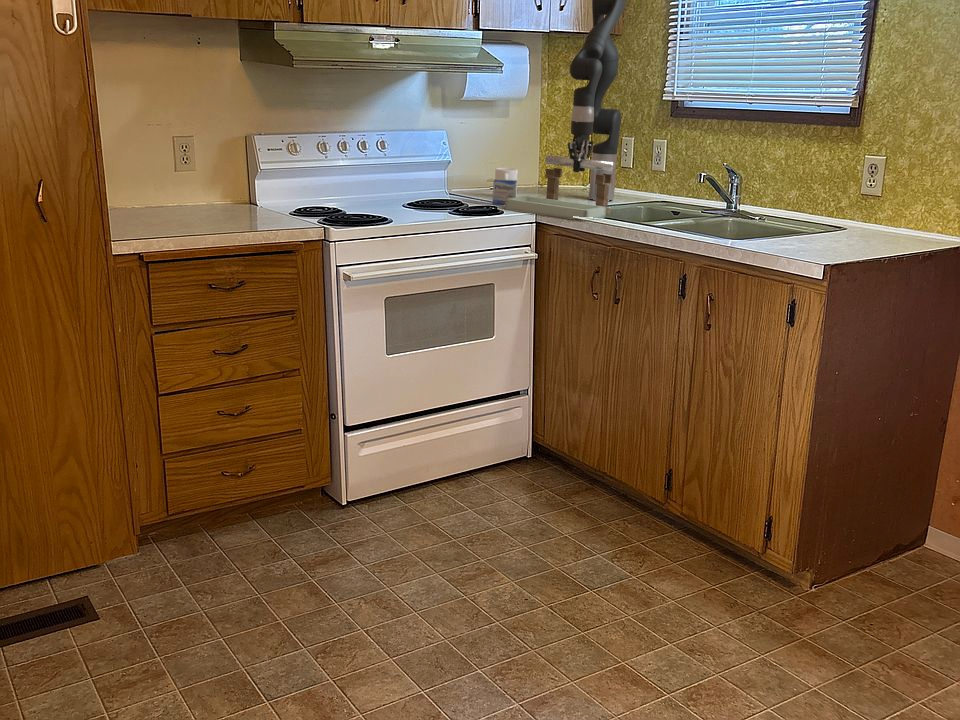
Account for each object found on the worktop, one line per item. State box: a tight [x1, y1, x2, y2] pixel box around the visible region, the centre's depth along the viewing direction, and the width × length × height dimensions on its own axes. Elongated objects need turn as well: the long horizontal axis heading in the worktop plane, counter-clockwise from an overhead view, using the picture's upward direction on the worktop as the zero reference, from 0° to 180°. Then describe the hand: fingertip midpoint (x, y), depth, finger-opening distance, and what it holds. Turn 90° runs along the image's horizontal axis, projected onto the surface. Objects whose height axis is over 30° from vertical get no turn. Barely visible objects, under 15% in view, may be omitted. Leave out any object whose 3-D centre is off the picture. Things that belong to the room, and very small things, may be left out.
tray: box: [504, 195, 607, 220], centre depth 311 cm, size 13×32×4 cm, turn 54°
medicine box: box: [491, 178, 518, 206], centre depth 326 cm, size 8×4×9 cm, turn 83°
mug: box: [494, 167, 519, 195], centre depth 343 cm, size 12×8×10 cm
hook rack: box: [544, 167, 612, 215], centre depth 321 cm, size 6×24×13 cm, turn 53°
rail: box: [545, 154, 615, 171], centre depth 318 cm, size 3×26×3 cm, turn 53°
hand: (578, 171), depth 319 cm, fingers closed on rail, 3 cm apart
